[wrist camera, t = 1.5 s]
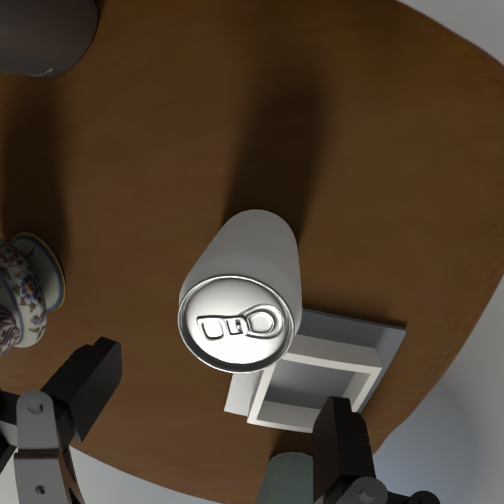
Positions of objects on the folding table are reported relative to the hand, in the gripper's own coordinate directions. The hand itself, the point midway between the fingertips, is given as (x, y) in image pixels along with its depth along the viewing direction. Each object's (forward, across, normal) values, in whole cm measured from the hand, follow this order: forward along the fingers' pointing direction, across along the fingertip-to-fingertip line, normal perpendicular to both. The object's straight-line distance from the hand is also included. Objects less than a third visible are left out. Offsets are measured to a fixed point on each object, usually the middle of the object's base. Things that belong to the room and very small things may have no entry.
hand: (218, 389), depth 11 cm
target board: (+16, -8, +12) cm, 21 cm away
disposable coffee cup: (+16, -11, +29) cm, 35 cm away
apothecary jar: (+16, +24, +9) cm, 30 cm away
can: (+16, 0, 0) cm, 16 cm away
